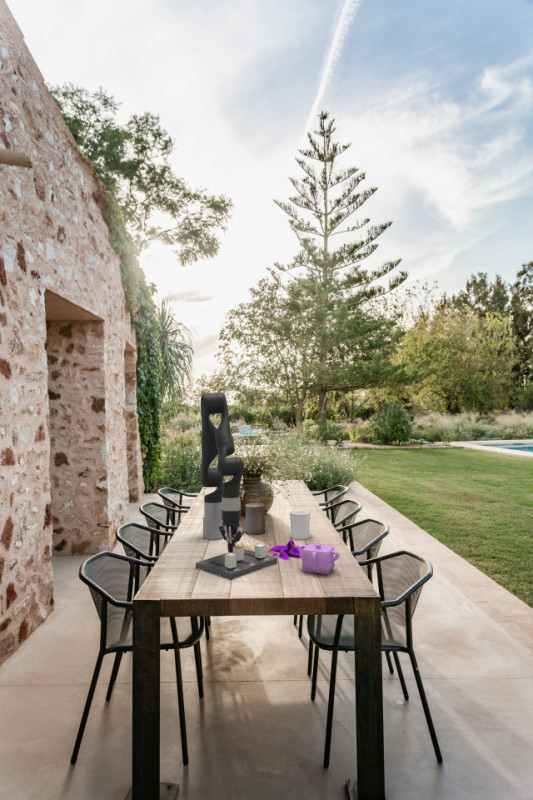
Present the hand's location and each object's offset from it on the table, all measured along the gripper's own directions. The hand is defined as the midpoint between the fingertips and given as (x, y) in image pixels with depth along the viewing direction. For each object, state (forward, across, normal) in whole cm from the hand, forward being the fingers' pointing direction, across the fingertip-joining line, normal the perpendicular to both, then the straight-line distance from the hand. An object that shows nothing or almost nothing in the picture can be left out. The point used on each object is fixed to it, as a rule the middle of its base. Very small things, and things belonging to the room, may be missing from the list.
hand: (231, 552), depth 191 cm
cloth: (+5, +9, +25) cm, 27 cm away
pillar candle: (+5, -27, +41) cm, 50 cm away
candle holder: (+5, -4, +48) cm, 49 cm away
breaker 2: (+2, +8, +8) cm, 12 cm away
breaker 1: (+2, +8, -8) cm, 11 cm away
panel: (+5, +3, 0) cm, 5 cm away
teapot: (+5, +30, +16) cm, 34 cm away
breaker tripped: (+2, +4, 0) cm, 4 cm away
